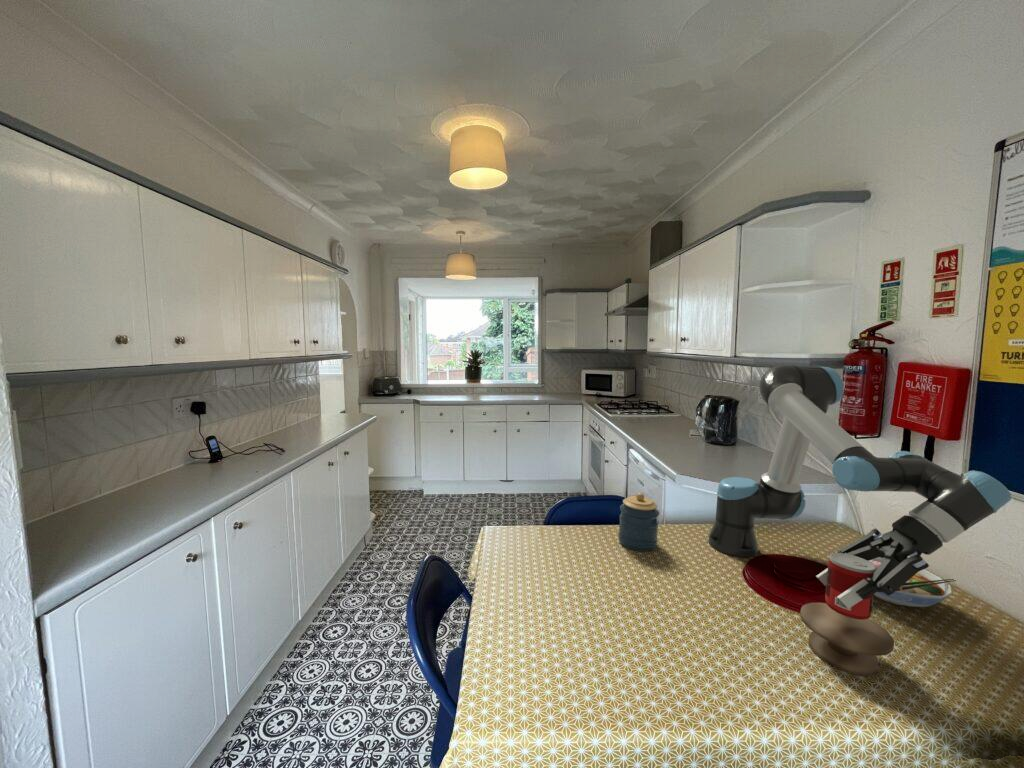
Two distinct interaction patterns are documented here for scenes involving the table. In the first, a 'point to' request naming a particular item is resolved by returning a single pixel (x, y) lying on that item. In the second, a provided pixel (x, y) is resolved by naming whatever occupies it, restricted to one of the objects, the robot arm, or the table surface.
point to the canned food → (848, 583)
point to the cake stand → (845, 639)
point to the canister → (638, 523)
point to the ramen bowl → (917, 589)
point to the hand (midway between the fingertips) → (831, 591)
